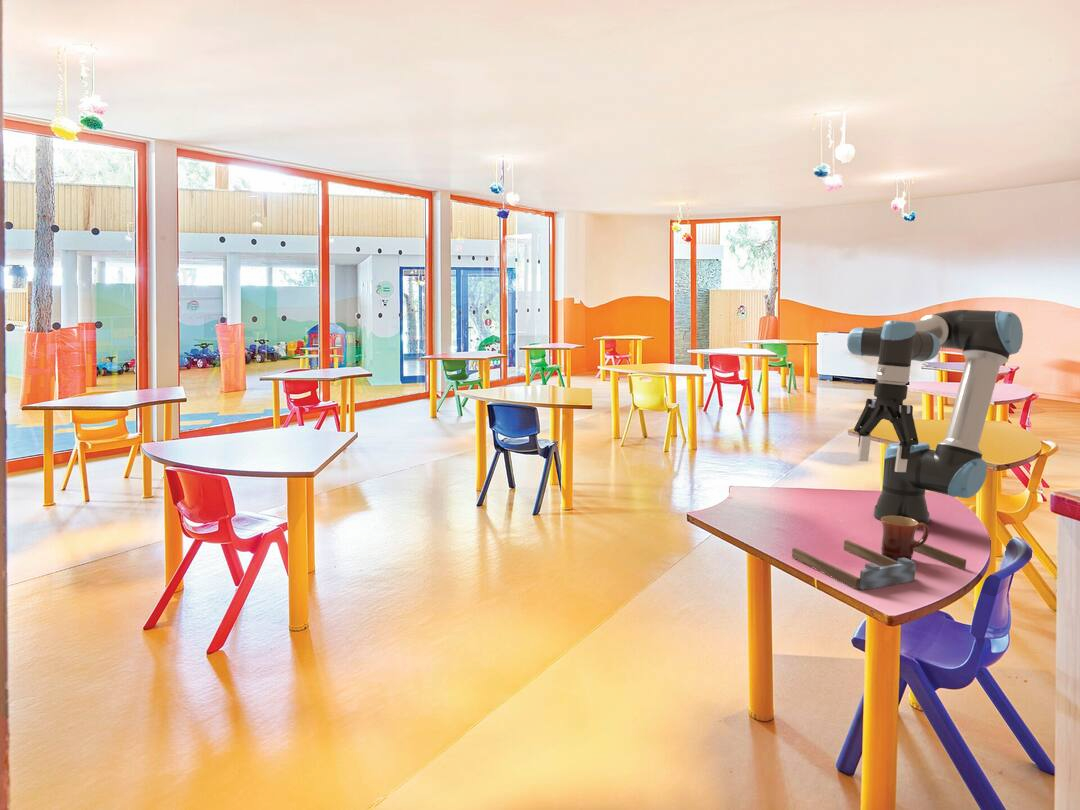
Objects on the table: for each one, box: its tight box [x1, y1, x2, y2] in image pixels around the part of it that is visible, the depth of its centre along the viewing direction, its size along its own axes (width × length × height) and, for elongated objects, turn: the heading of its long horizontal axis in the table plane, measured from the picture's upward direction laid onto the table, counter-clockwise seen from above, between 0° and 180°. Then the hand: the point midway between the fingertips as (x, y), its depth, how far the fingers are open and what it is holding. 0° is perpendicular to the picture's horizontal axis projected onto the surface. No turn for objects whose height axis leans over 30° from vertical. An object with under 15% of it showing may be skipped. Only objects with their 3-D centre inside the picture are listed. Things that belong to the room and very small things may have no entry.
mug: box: [880, 516, 930, 561], centre depth 199 cm, size 12×9×10 cm
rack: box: [791, 539, 967, 591], centre depth 196 cm, size 35×24×6 cm
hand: (880, 466), depth 198 cm, fingers open, 13 cm apart
